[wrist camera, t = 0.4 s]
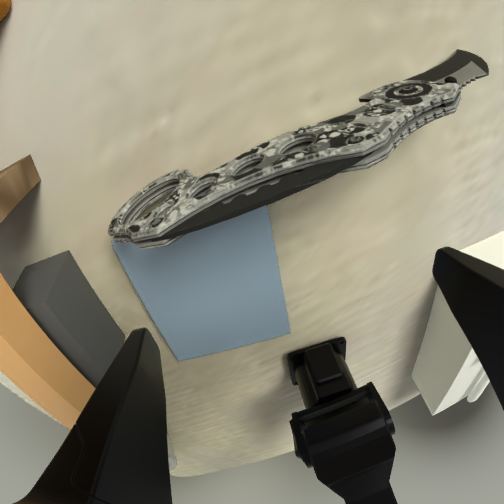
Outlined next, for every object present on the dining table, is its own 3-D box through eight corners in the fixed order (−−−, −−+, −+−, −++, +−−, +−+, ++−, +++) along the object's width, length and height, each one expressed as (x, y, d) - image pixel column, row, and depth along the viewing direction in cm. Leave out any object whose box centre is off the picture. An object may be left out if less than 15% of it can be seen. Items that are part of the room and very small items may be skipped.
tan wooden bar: (130, 420, 24) (130, 449, 21) (103, 422, 24) (102, 450, 21) (-37, 207, 11) (-67, 237, 8) (-62, 225, 11) (-89, 254, 8)
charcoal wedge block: (130, 341, 28) (126, 394, 23) (89, 350, 28) (81, 400, 23) (69, 249, 21) (45, 302, 16) (25, 266, 21) (-1, 317, 16)
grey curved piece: (455, 42, 17) (556, 64, 8) (459, 59, 17) (558, 87, 9) (118, 195, 20) (80, 294, 12) (131, 212, 21) (103, 316, 13)
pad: (287, 325, 30) (290, 333, 29) (178, 353, 29) (178, 361, 29) (262, 193, 22) (265, 199, 21) (113, 236, 21) (111, 243, 20)
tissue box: (516, 223, 30) (571, 273, 21) (474, 340, 44) (504, 385, 35) (441, 255, 29) (503, 325, 20) (410, 374, 44) (438, 427, 35)
